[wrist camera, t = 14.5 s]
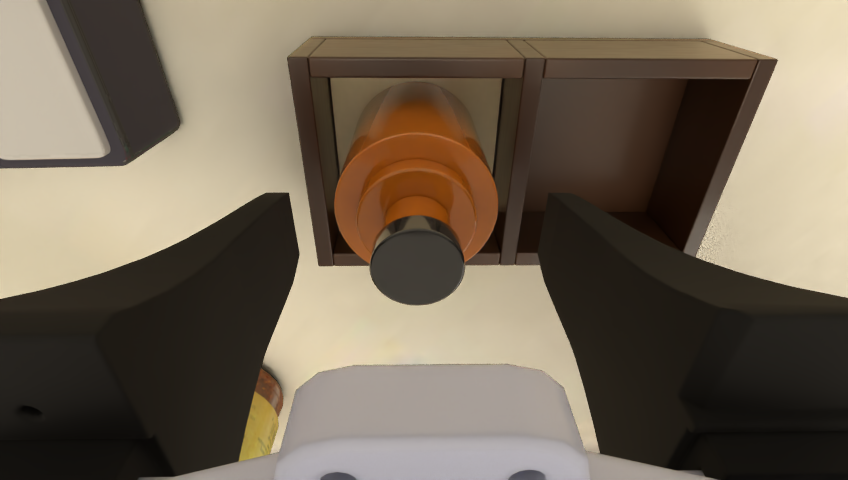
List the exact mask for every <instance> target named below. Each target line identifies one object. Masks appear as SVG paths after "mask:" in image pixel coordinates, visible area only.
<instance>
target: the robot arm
mask: <svg viewBox="0 0 848 480" xmlns="http://www.w3.org/2000/svg"><path fill="white" fill-rule="evenodd" d="M538 258H539V262H540V266H541V270H542V274H543V278H544V282H545V284H546V287H547V289H548V292H549V294H550V297H551V299H552V302H553V304H554V306H555V309H556V311H557V313H558V316H559V318H560V321H561V323H562V325H563V328H564V330H565V332H566V335H567V337H568V340H569V342H570V344H571V347H572V350H573V353H574V355H575V358H576V362H577V365H578V369H579V372H580V376H581V379H582V383H583V386H584V390H585V393H586V397H587V401H588V405H589V409H590V413H591V417H592V420H593V424H594V429H595V433H596V437H597V442H598V446H599V450H600V454H598V453H594V452H589V451H585V448H584V446H583V443H582V440H581V437H580V434H579V431H578V428H577V425H576V422H575V419H574V416H573V413H572V411H571V408H570V405H569V402H568V399H567V396H566V393H565V390H564V387H562V386H561V385H560V384H559V383H557V382H556V381H555V380H554V379H552V378H551V377H550V376H549V375H547V374H546V373H545V372H544V371H542V370H537V369H532V368H526V367H521V366H516V365H510V364H433V365H353V366H347V367H342V368H337V369H332V370H327V371H322V372H319V373H317V374H316V375H315V376H313V377H312V378H311V379H310V380H308V381H307V382H306V383H304V384H303V385H302V386H301V387H299V388H298V389H297V390H296V393H295V396H294V400H293V404H292V408H291V411H290V415H289V419H288V422H287V426H286V430H285V433H284V437H283V441H282V444H281V448H280V452H277V453H273V454H269V455H265V456H260V457H256V458H252V459H248V460H244V461H239V457H240V453H241V448H242V443H243V439H244V434H245V429H246V425H247V421H248V417H249V413H250V408H251V404H252V400H253V396H254V392H255V388H256V385H257V381H258V377H259V373H260V370H261V366H262V362H263V359H264V356H265V353H266V350H267V347H268V345H269V342H270V340H271V337H272V335H273V332H274V330H275V327H276V325H277V322H278V320H279V317H280V315H281V312H282V310H283V307H284V305H285V302H286V300H287V297H288V295H289V292H290V289H291V287H292V284H293V281H294V277H295V273H296V268H297V263H298V259H299V248H298V243H297V237H296V231H295V226H294V220H293V214H292V209H291V203H290V197H289V193H265V194H263V195H261V196H259V197H257V198H255V199H253V200H252V201H250V202H248V203H247V204H245V205H243V206H242V207H240V208H238V209H237V210H235V211H234V212H232V213H230V214H229V215H227V216H225V217H224V218H222V219H220V220H219V221H217V222H216V223H214V224H212V225H210V226H208V227H207V228H205V229H203V230H201V231H199V232H197V233H196V234H194V235H192V236H190V237H188V238H187V239H185V240H183V241H181V242H179V243H177V244H175V245H172V246H170V247H168V248H166V249H164V250H161V251H159V252H157V253H155V254H152V255H150V256H148V257H145V258H143V259H140V260H137V261H135V262H132V263H129V264H126V265H123V266H121V267H118V268H115V269H112V270H110V271H107V272H104V273H101V274H98V275H94V276H91V277H88V278H85V279H81V280H78V281H74V282H71V283H67V284H63V285H60V286H56V287H52V288H48V289H44V290H40V291H36V292H31V293H26V294H22V295H17V296H12V297H8V298H3V299H0V480H848V298H845V297H840V296H835V295H830V294H825V293H820V292H815V291H810V290H805V289H800V288H796V287H791V286H787V285H783V284H779V283H775V282H772V281H768V280H764V279H760V278H756V277H753V276H750V275H746V274H743V273H739V272H736V271H733V270H730V269H727V268H724V267H721V266H718V265H715V264H712V263H709V262H706V261H704V260H701V259H698V258H696V257H693V256H691V255H688V254H686V253H684V252H681V251H679V250H677V249H674V248H672V247H670V246H667V245H665V244H663V243H661V242H659V241H657V240H655V239H653V238H651V237H649V236H647V235H645V234H643V233H641V232H639V231H637V230H635V229H634V228H632V227H630V226H628V225H626V224H625V223H623V222H621V221H620V220H618V219H616V218H614V217H613V216H611V215H609V214H608V213H606V212H604V211H603V210H601V209H599V208H598V207H596V206H594V205H593V204H591V203H589V202H588V201H586V200H584V199H582V198H581V197H579V196H577V195H575V194H572V193H548V198H547V204H546V209H545V215H544V220H543V226H542V231H541V237H540V243H539V248H538Z"/></svg>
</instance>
